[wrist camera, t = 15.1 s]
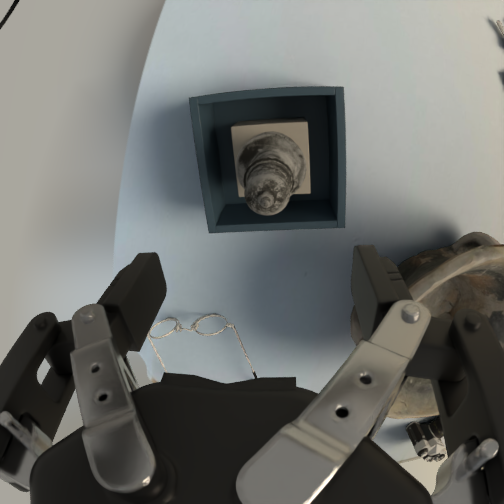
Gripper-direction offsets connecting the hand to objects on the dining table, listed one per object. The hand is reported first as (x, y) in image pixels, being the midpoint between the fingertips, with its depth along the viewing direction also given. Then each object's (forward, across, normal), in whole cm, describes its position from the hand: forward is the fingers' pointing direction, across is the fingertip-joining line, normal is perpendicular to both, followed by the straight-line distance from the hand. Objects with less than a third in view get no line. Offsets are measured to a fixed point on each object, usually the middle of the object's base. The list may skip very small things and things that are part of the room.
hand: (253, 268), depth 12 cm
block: (+23, 0, 0) cm, 23 cm away
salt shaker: (+18, 0, 0) cm, 18 cm away
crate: (+24, 0, 0) cm, 24 cm away
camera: (+24, -38, +65) cm, 79 cm away
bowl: (+24, -21, +19) cm, 37 cm away
